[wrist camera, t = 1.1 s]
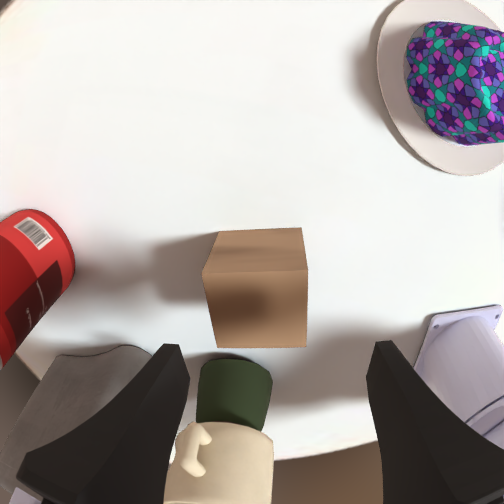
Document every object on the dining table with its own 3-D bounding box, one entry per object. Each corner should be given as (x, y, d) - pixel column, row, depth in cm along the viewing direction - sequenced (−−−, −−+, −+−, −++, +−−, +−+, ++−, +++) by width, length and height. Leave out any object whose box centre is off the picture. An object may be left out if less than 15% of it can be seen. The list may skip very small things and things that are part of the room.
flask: (80, 388, 30) (19, 518, 12) (50, 354, 28) (-26, 489, 10) (176, 382, 26) (121, 575, 9) (142, 340, 24) (55, 555, 6)
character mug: (174, 335, 23) (120, 482, 12) (260, 324, 22) (241, 497, 11) (219, 409, 28) (198, 524, 17) (288, 403, 27) (285, 528, 15)
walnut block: (302, 294, 21) (306, 346, 16) (229, 296, 21) (217, 347, 17) (301, 226, 18) (307, 269, 14) (219, 230, 19) (201, 273, 14)
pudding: (473, -15, 9) (517, -32, 4) (535, 139, 13) (582, 157, 9) (332, 24, 13) (354, -5, 8) (421, 201, 17) (461, 237, 12)
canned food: (3, 209, 19) (-86, 274, 10) (64, 202, 19) (-46, 284, 9) (27, 284, 23) (-40, 360, 13) (89, 291, 22) (16, 390, 13)
